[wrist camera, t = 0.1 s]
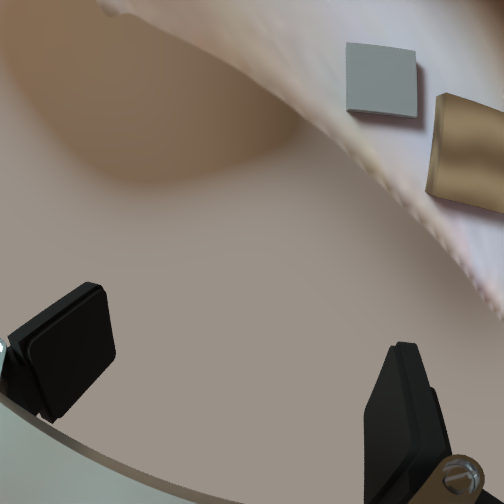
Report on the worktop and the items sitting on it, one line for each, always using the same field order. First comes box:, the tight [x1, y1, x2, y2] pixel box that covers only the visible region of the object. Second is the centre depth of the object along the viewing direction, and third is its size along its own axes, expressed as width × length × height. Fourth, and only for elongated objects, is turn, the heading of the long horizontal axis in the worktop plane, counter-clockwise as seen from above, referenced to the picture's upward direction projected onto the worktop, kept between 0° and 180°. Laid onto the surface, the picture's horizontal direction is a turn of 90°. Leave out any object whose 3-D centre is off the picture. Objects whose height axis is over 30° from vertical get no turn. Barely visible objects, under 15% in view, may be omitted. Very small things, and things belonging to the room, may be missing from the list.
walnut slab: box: [425, 93, 504, 214], centre depth 30 cm, size 12×12×4 cm
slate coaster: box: [346, 43, 417, 118], centre depth 31 cm, size 8×8×3 cm
